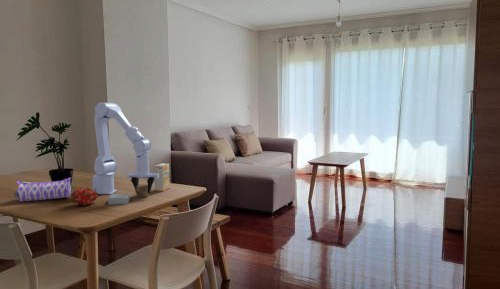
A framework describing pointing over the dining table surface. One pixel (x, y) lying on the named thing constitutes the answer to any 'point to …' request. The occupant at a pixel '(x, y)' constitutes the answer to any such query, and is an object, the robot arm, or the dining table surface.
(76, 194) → the dragon fruit
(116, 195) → the grey flat square block
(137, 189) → the walnut cube
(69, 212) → the dining table surface
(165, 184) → the supplement box
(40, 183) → the pencil case
